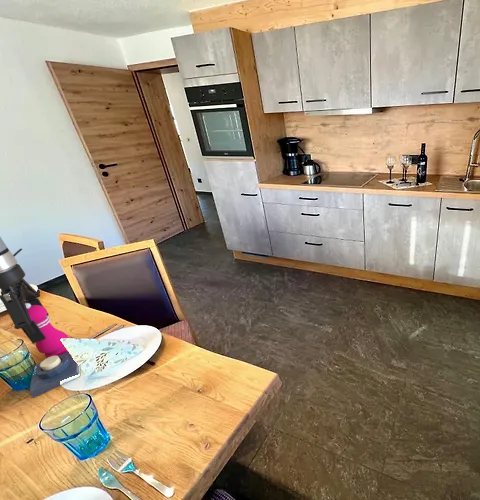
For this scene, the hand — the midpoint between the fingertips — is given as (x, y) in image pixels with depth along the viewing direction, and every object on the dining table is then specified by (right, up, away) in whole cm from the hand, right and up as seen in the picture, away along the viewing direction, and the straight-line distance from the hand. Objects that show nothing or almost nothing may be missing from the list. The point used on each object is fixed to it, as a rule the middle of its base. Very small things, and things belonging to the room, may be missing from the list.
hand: (41, 328), depth 88 cm
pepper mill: (+1, -10, +5) cm, 11 cm away
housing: (+8, -13, -2) cm, 15 cm away
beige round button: (+7, -10, -4) cm, 13 cm away
